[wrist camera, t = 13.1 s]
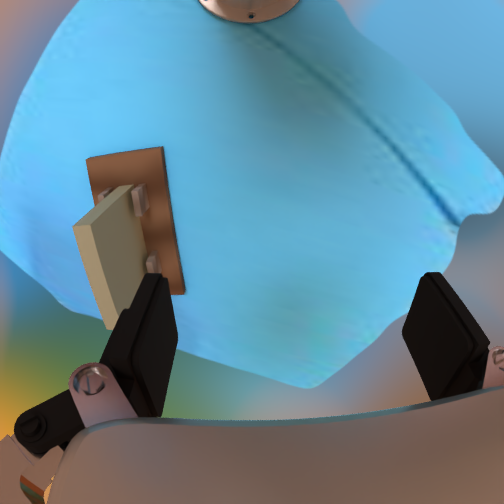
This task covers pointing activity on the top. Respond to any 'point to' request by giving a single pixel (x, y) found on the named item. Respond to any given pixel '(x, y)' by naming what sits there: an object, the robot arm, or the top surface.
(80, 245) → the cabinet door
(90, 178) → the hinge base
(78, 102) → the top surface
